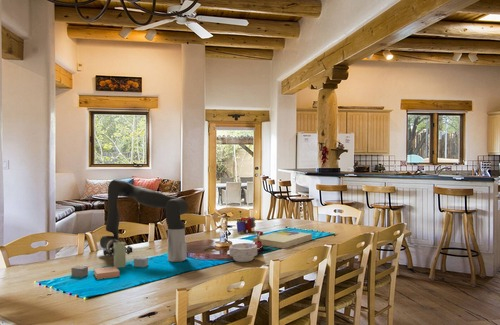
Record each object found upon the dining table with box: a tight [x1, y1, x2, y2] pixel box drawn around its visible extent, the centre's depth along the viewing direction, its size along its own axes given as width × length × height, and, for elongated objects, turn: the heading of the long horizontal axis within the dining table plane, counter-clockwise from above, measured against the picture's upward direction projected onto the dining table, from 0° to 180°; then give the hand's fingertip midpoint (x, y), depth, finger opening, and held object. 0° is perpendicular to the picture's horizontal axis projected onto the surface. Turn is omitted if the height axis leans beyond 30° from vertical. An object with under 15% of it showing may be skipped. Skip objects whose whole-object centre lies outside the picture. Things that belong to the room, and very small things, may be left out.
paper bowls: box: [228, 242, 258, 263], centre depth 223 cm, size 15×15×8 cm
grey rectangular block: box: [71, 265, 89, 278], centre depth 194 cm, size 6×4×4 cm, turn 73°
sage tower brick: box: [113, 241, 127, 269], centre depth 211 cm, size 5×5×12 cm
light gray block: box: [133, 256, 149, 268], centre depth 212 cm, size 6×4×4 cm, turn 80°
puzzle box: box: [252, 230, 313, 249], centre depth 273 cm, size 36×5×24 cm
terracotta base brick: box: [93, 265, 121, 280], centre depth 195 cm, size 10×10×3 cm
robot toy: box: [236, 210, 257, 234], centre depth 309 cm, size 17×9×20 cm
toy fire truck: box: [255, 231, 264, 248], centre depth 252 cm, size 3×14×10 cm, turn 168°
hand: (120, 253), depth 210 cm, fingers open, 8 cm apart
